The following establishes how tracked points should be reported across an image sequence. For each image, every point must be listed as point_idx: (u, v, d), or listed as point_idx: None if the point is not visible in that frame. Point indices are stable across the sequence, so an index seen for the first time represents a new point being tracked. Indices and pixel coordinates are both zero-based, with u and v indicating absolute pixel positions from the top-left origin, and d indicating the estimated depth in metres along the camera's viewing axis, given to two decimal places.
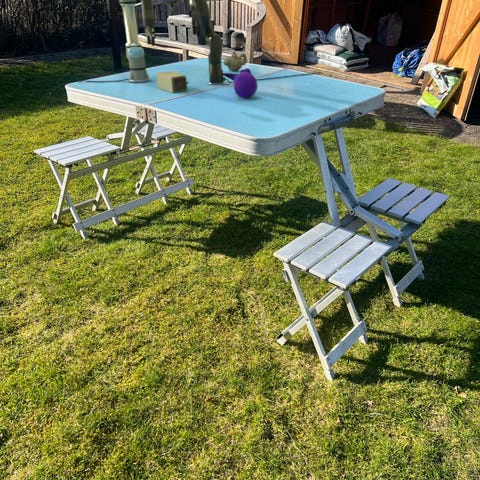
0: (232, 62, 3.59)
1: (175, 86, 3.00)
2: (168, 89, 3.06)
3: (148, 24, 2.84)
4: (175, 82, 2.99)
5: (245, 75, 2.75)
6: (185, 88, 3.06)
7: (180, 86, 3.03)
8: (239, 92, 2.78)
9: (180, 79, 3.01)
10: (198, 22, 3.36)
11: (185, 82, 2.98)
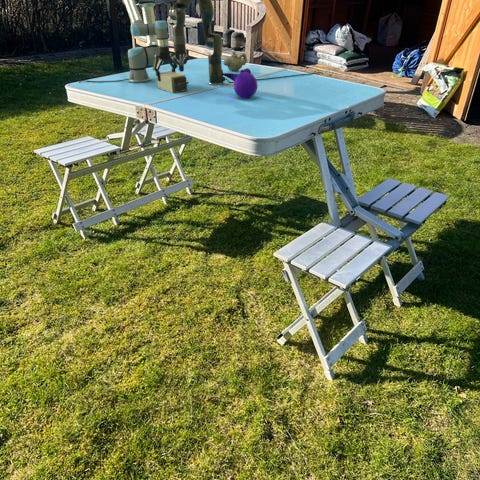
0: (232, 62, 3.59)
1: (175, 86, 3.00)
2: (168, 89, 3.06)
3: (174, 49, 2.88)
4: (175, 82, 2.99)
5: (245, 75, 2.75)
6: (185, 88, 3.06)
7: (180, 86, 3.03)
8: (239, 92, 2.78)
9: (180, 79, 3.01)
10: (154, 66, 3.05)
11: (185, 82, 2.98)
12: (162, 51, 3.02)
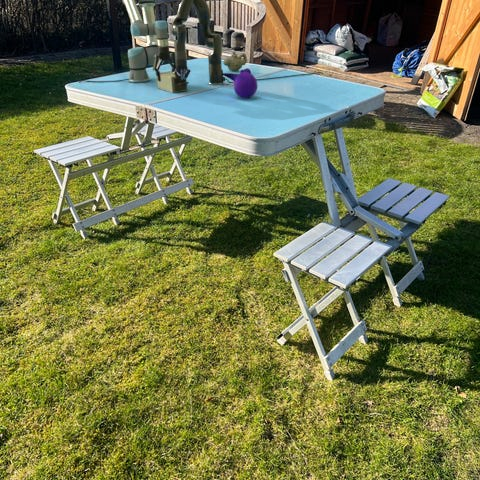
0: (232, 62, 3.59)
1: (175, 86, 3.00)
2: (168, 89, 3.06)
3: (175, 64, 2.92)
4: (175, 82, 2.99)
5: (245, 75, 2.75)
6: (185, 88, 3.05)
7: (180, 86, 3.03)
8: (239, 92, 2.78)
9: None
10: (154, 66, 3.05)
11: (185, 82, 2.98)
12: (162, 51, 3.02)
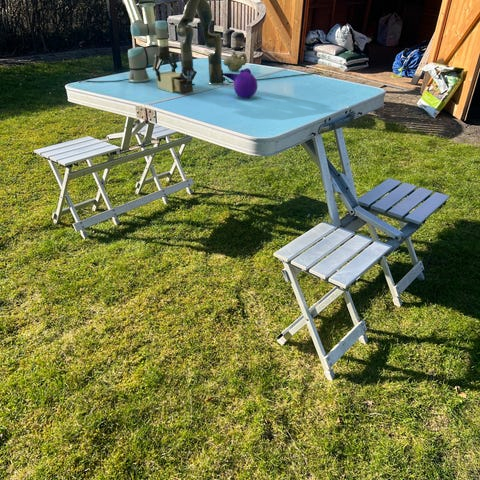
0: (232, 62, 3.59)
1: (181, 88, 2.95)
2: (168, 89, 3.06)
3: (181, 65, 2.87)
4: (181, 84, 2.94)
5: (245, 75, 2.75)
6: (191, 90, 3.00)
7: (186, 88, 2.97)
8: (239, 92, 2.78)
9: None
10: (154, 66, 3.05)
11: (191, 84, 2.93)
12: (162, 51, 3.02)
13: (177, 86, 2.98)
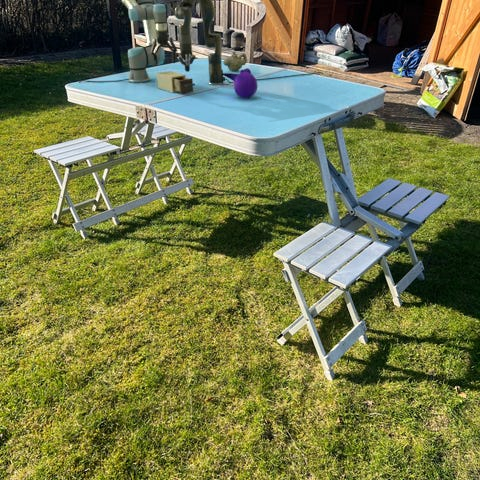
0: (232, 62, 3.59)
1: (181, 88, 2.95)
2: (168, 89, 3.06)
3: (180, 49, 2.82)
4: (181, 84, 2.94)
5: (245, 75, 2.75)
6: (191, 90, 3.00)
7: (186, 88, 2.97)
8: (239, 92, 2.78)
9: (186, 81, 2.95)
10: (151, 50, 3.00)
11: (191, 84, 2.93)
12: (160, 35, 2.97)
13: (177, 86, 2.98)
